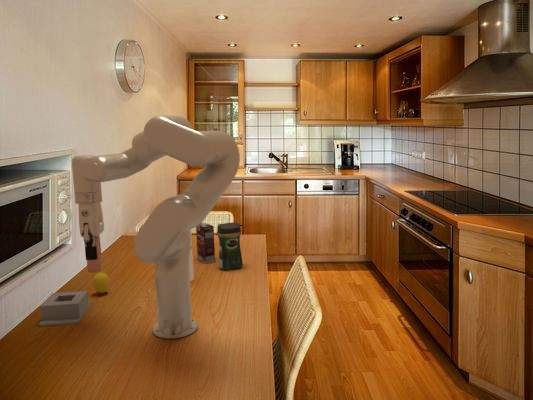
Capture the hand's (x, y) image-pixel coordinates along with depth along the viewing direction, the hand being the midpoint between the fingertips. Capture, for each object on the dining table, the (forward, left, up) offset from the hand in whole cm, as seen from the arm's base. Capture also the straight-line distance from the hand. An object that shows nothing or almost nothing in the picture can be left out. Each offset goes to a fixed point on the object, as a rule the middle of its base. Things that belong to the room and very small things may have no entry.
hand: (93, 256), depth 140 cm
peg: (0, 0, -4) cm, 4 cm away
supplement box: (+55, -32, -19) cm, 67 cm away
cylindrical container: (+31, -24, -19) cm, 44 cm away
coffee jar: (+43, -42, -19) cm, 63 cm away
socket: (+4, +11, -19) cm, 22 cm away
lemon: (+21, +4, -19) cm, 29 cm away
